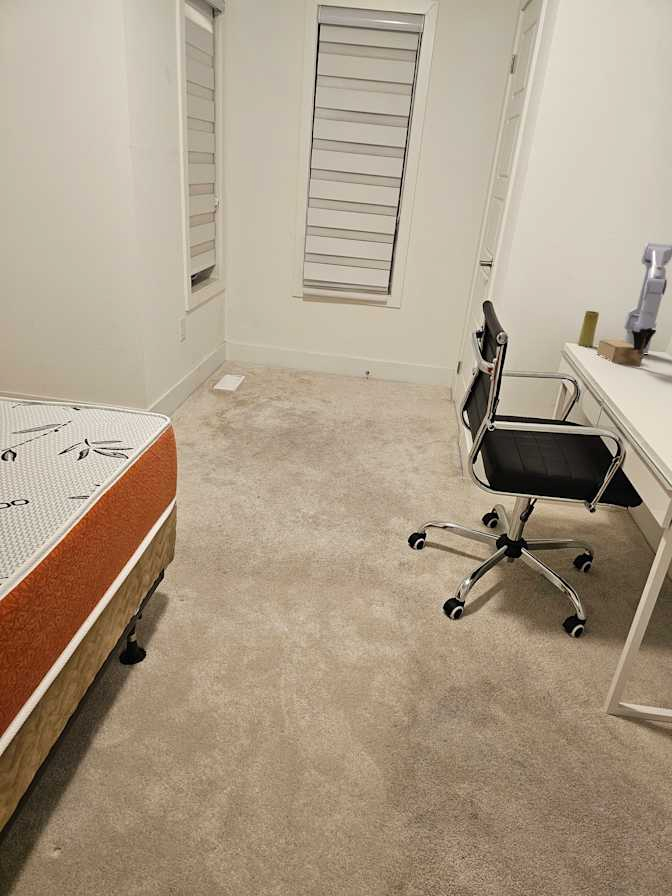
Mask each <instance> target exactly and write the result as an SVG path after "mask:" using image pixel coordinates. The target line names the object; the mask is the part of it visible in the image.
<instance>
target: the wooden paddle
mask: <svg viewBox="0 0 672 896" xmlns="http://www.w3.org/2000/svg"><path fill="white" fill-rule="evenodd" d="M645 342H646V339H645V340H644V342H643V345H642V347H641V349H640V350H638V351H635V350H629V349H624V348H619V347H616V350H615V354H614V358H613V362H612V363H617V364H620V365H621V364H622V365H627V366H632V367H636V368H641V365H642V361H643V357H644V355H643V354H644V352H643V350H644V346H645Z"/></svg>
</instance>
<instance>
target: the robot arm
mask: <svg viewBox="0 0 672 896" xmlns="http://www.w3.org/2000/svg"><path fill="white" fill-rule="evenodd" d="M671 260H672V244H671V243H670V244H667V243H656V242H655V243H654V242H649V241H648V242H646V243H645V245H644V248H643V252H642V256H641V264H642V265H644V266H645V272H644V276H643V281H642V285H641V289H640V291H639V292H640V293H639V296H638V301H637V305H636V306H634V307H633V308H631V309H629V311H628V312H627V315H626V317H625V321H624V324H623V325H624V326H623V327H624V330H626V332H625V336H624V340H623V341H625V342H627V343H630V344H632V345H634V349H636V350H640V349H641V347H642V345H643V342H644V340H645V339H646V342H645V346H644V350H643V352H644V353H648V354H649V349H650V345H651V342H652V338H653V336H654V335H655V334H656V332H657V330H656V327H657V325H658V324H657V322H656V321H657V316H658V313H659V309H660V305H661V301H662V298H663V296H664V295H665V292H666V289H667V285H668V278H667V277H666V273H667V269H666V267H665V266H667V265H668V263H669V262H670V261H671Z"/></svg>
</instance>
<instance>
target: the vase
mask: <svg viewBox="0 0 672 896" xmlns="http://www.w3.org/2000/svg"><path fill="white" fill-rule="evenodd" d="M599 316H600V313H599V312H598V311H595V310H593V311H592V310H586V311H585V314H584V317H583V322H582V323H583V324H582V327H581V330H580V335H579V339H578V342H577V345H578V346H580V345H583V346H582V347H584V346H592V347H594V346H593V345H594V341H595V340H594V339H595V335H596V334H595V333H596V328H597V324H598V320H599Z"/></svg>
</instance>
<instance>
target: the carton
mask: <svg viewBox="0 0 672 896" xmlns="http://www.w3.org/2000/svg"><path fill="white" fill-rule="evenodd" d="M616 347H619V348H624V349H629V350H635V351H638V350H636V349H634V345H632V344H630V343H627V342H625V341H624V340H617V339H616V340H615V339H613V340H611V339H600V340H599V343H598V347H597V351H596V354H597V353H598V354H600V355H602V356H604V357H605V358H607V359H609V360H611V361H613V358H614V354H615V350H616ZM605 358H604V359H605ZM607 359H606V360H607ZM609 360H608V361H609ZM611 361H610V362H611Z"/></svg>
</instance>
